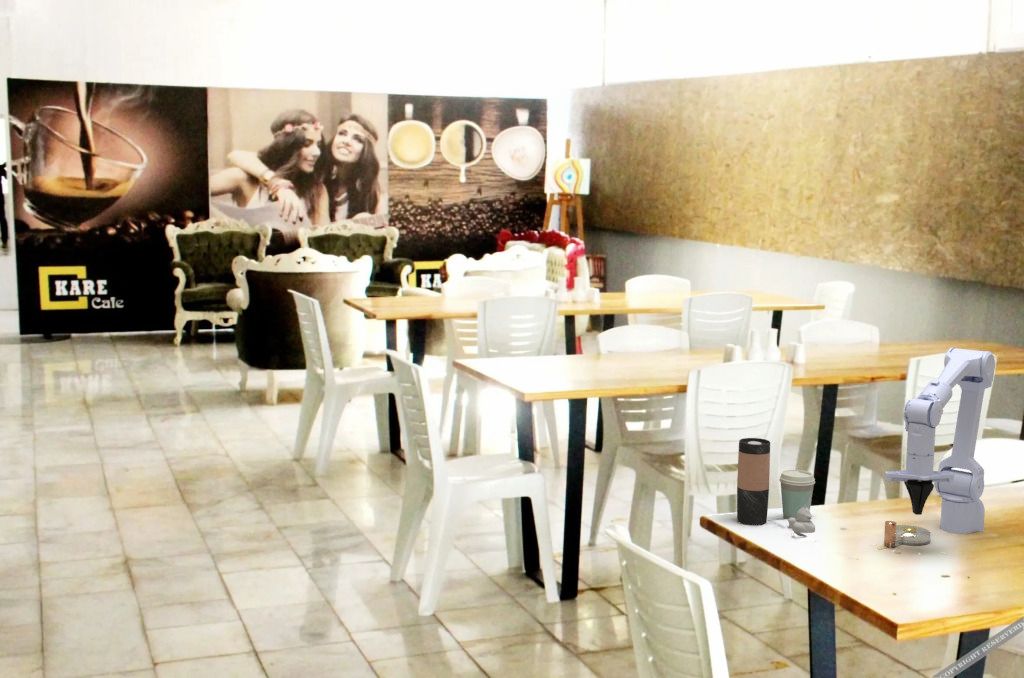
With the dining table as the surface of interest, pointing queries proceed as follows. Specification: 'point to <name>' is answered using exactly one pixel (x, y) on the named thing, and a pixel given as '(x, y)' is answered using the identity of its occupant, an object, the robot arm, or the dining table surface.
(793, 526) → the grey animal figurine
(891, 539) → the dial
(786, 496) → the coffee cup
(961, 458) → the robot arm
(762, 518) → the travel mug
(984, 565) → the dining table surface
